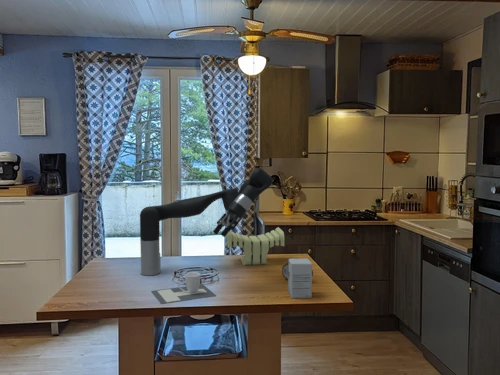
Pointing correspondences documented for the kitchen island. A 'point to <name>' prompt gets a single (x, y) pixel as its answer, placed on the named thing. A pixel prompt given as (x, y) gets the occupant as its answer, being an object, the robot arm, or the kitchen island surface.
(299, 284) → the supplement box
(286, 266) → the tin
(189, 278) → the cup
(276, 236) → the slatted curved stool
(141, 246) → the robot arm
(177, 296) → the t mat
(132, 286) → the kitchen island surface
